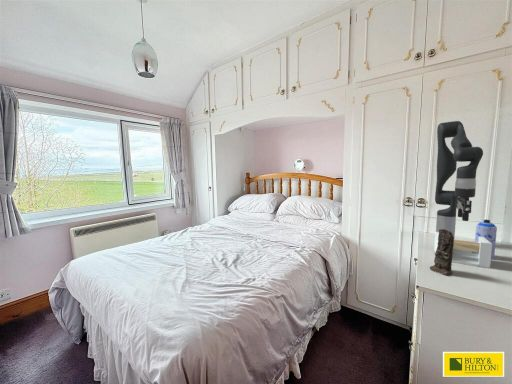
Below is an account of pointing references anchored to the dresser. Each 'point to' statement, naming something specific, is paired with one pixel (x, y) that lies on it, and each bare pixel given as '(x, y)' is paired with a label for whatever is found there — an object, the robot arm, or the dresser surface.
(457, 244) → the shelf board
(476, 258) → the cabinet bay
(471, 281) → the dresser surface
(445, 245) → the statue
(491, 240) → the aerosol can
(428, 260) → the dresser surface
